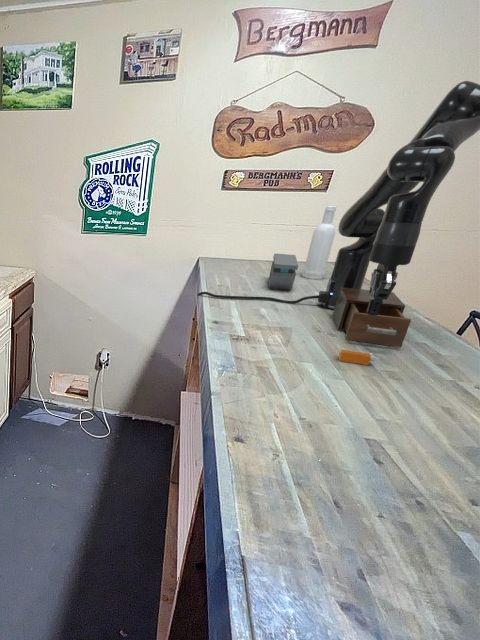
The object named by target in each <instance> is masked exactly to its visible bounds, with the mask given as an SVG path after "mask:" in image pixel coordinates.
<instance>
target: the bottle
mask: <svg viewBox="0 0 480 640" xmlns="http://www.w3.org/2000/svg"><path fill="white" fill-rule="evenodd" d="M336 211H337V206H336V205H326V206H325V208H324V213H323V215H322V220H321V223H320V224H318V225H317V226H316V227H315V228H314V230H313V232H312V236H311V241H310V244H309V248H308V252H307V255H306V256H307V257H306V260H305V263H304V267H303V270H302V275H301V276H302V277H303V278H306V279H311V280H322V279H324V276H325V273H326V268H327V265H328V262H329V258H330V253H331V250H332V246H333V243H334V239H335V236H336V227H335V225H334V224H333V221H334V217H335V213H336Z"/></svg>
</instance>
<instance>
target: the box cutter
mask: <svg viewBox="0 0 480 640" xmlns="http://www.w3.org/2000/svg"><path fill="white" fill-rule="evenodd" d="M338 361H339V362H345V363H351V364H357V365H362V366H363V365H364V366H369V364H370V362H373V363H375V362H376V359H375V358H372V356H371V354H370V353H367V352H361V351H355V350H347V349H340V352H339V355H338Z"/></svg>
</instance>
